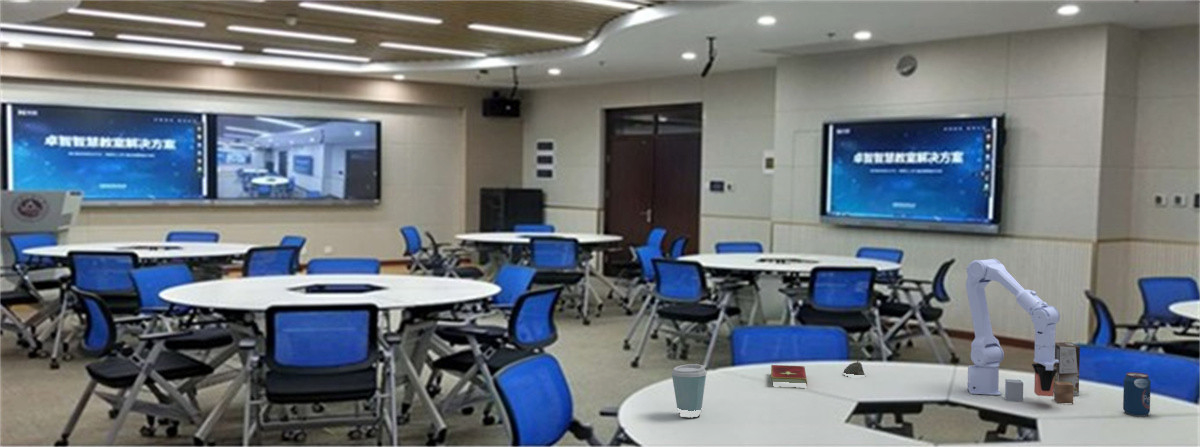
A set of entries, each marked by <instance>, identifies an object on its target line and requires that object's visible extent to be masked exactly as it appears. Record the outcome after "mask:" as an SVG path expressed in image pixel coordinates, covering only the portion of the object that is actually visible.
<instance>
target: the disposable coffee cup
mask: <svg viewBox="0 0 1200 447" xmlns="http://www.w3.org/2000/svg"><path fill="white" fill-rule="evenodd" d="M670 373H671V377H672V378H671V379H672V383H673V384H672V385H673V390H674V395H675V396H674V397H675V402H676V403H675V404H676V408H679V409H681V410H688V411H694V410H695V411H696V410H701V408H702V409H703V401H704V394H705V393H704V392H705V386H706V377H707V375H708V373H707V370H706V366H705V365H704V364H699V363H691V364H690V363H688V364H687V363H686V364H682V365H677V366H675V367H674V368H673V369H672V370H671V372H670ZM701 411H702V410H701Z"/></svg>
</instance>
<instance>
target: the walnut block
mask: <svg viewBox="0 0 1200 447" xmlns="http://www.w3.org/2000/svg"><path fill="white" fill-rule="evenodd" d="M1073 388H1074V385H1073V384H1071V383H1070V382H1055V381H1054V391H1053V401H1055V402H1056V404H1061V403H1072V404H1071V405H1073V404H1074V396H1073Z"/></svg>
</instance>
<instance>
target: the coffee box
mask: <svg viewBox="0 0 1200 447" xmlns="http://www.w3.org/2000/svg"><path fill="white" fill-rule="evenodd" d="M1080 356H1081V347H1080V346H1079V345H1077V344H1074V343H1073V342H1068V341H1067V342H1061V341H1060V342H1059V341H1058V342H1055V359H1056V360H1059V363H1055V364H1054V365H1053V369H1056V370H1057V373H1056V374H1055V376H1054V381H1055V382H1070V383H1071V384H1073V385H1074V388H1073V397H1074V396H1075V397H1079V394H1080V392H1079V391H1080V362H1081V360H1080V359H1081V358H1080ZM1053 392H1054V387H1053Z"/></svg>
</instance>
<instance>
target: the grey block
mask: <svg viewBox="0 0 1200 447" xmlns="http://www.w3.org/2000/svg"><path fill="white" fill-rule="evenodd" d="M1004 381H1005V384H1004V385H1005V386H1004V388H1005V390H1004V394H1005V395H1004V396H1005V397H1004V398H1005V399H1006V401H1007V402H1024V381H1022V380H1021V379H1009V378H1008V379H1007V378H1005V380H1004Z"/></svg>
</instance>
